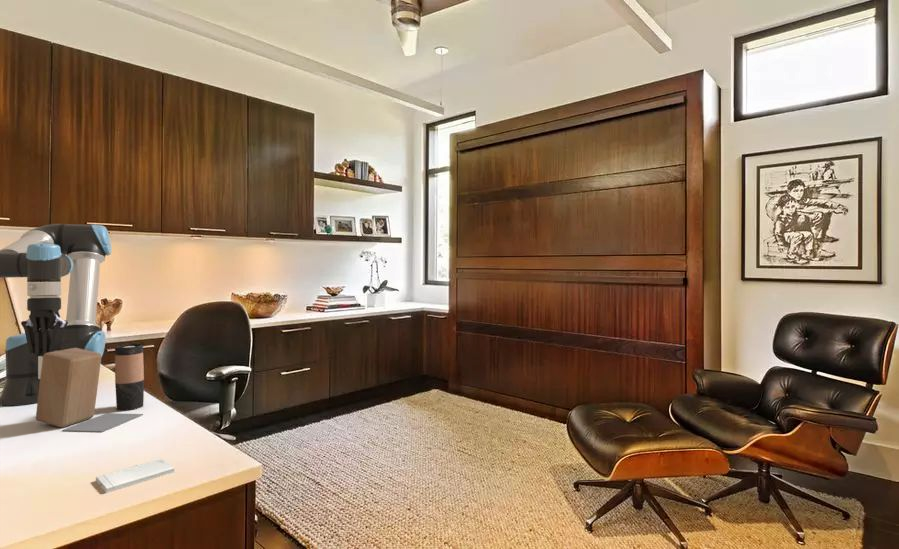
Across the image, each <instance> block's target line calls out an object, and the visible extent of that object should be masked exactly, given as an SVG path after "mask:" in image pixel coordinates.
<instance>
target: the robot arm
mask: <svg viewBox="0 0 899 549" xmlns="http://www.w3.org/2000/svg"><path fill="white" fill-rule="evenodd" d="M111 254H112V244H111V237H110V234H109V231H108V229H107V227H106V226H105V225H100V224H99V225H98V224H93V223H91V224H77V223H76V224H73V223H71V224H69V223H50V224H45V225H42V226H39V227H35V228H32V229H30V230H28V231H26V232H24V233H23V234H22V235H21V236H20V238H19V239H18V240H16V241H14V242H12V243H11V244H9V245H6V246H5V247H3V248H1V249H0V278H1V279H2V278H3V279H4V278H6V279H7V278H8V279H10V278H26V282H27V283H26V286H27V288H26V290H27V291H26V294H27V296H28V297H29V298H27V300H26V303H27V304H26V305H27V306H26V310H27V311H28V312H30V314H29V316H28V319H26V320H23V321H20V325H21V326H22V328H23V330H24V333H19V334H14V335H10V336H8V337H7V338H6V339H5V349H4V352H5V354H4V355H5V383H4V386H3V387H2V391H1V394H0V404H2V405H1V406H5V405H14V406H23V405H24V404H25V405H31V403H32V404H36V403H38V395H39V386H40V378H41V369H42V361H43V355H44V354H45V353H48V352H54V351H60V350H65V349H71V348H79V349H83V350H88V351H92V352H96V353H100V354H101V358H102V357H103V355H104V351H105V349H106V348H105V347H106V333H105V331H102V330H101V327H100V325H99V324H97V312H98V311H97V310H98V296H99V280H100V268H101V264H102V263H103V262H105V261H106V256H110V255H111ZM68 275H69V282H68V284H69V285H68V295H67V305H66V307H67V308H66V316H65V320H63V319H62V318H61V315H60V310H61V309H62V298H61V297H60V296H61V295H62V281H61V280H62V279H61V278H63V277H66V276H68Z"/></svg>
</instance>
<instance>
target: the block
mask: <svg viewBox="0 0 899 549" xmlns="http://www.w3.org/2000/svg"><path fill="white" fill-rule="evenodd" d="M101 362H102V357H101V354H100V353H96V352H92V351H88V350H83V349H79V348H71V349H65V350H60V351H54V352H48V353H45V354H44V355H43V361H42V369H41V378H40V386H39V395H38V403H37V405H36V411H35V412H36V413H35V420H36V421H37V422H40V423H45V424H48V425H52V426H55V427H59V428H67V427H70V426H73V425H76V424H79V423H82V422H85V421H87V420H90V419H93V418H94V416H95V410H96V402H97V395H98V388H99V387H98V386H99V378H100V372H101Z"/></svg>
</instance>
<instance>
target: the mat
mask: <svg viewBox="0 0 899 549" xmlns="http://www.w3.org/2000/svg"><path fill="white" fill-rule="evenodd" d="M142 416H144V413H119V412H118V413H117V412H116V413H115V412H114V413H112V412H111V413H110V412H108V413H107V412H106V413H104V414H101V415H98V416H96V417H92V418H90V419H87V420H84V421H81V422H78V423H76V424H73V425H71V426H68V427H65V428H63V429H62V430H61V432H74V431H75V432H78V433H80V432H81V433H82V432H83V433H85V432H86V433H104V432H106V430H107V431H108V430H111V429H114V428H116V427H119V426H120V425H123V424H125V423H128V422H130V421H132V420H134V419H137V418H140V417H142Z"/></svg>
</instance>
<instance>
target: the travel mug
mask: <svg viewBox="0 0 899 549" xmlns="http://www.w3.org/2000/svg"><path fill="white" fill-rule="evenodd" d="M144 369H145V368H144V344H143V343H142V344H141V343H129V344H121V345H117V346H116V347H114V376H115V377H114V378H115V379H114V381H115V382H114V383H115V398H116V399H115V401H116V403H115V404H116V411H120V412H124V411H133V410H138V409H140V408H143V407H144V400H145V397H144V396H145V395H144V393H145V390H144V389H145V388H144V387H145V386H144V385H145V374H144V372H145V371H144Z"/></svg>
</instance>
